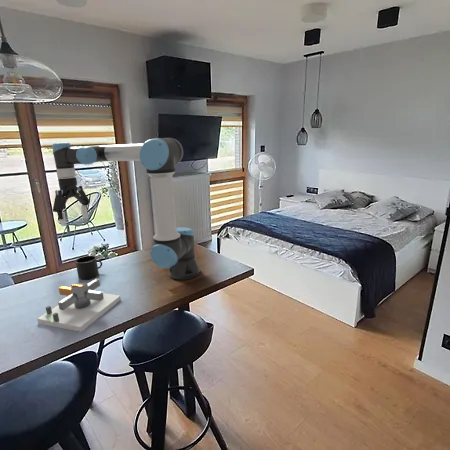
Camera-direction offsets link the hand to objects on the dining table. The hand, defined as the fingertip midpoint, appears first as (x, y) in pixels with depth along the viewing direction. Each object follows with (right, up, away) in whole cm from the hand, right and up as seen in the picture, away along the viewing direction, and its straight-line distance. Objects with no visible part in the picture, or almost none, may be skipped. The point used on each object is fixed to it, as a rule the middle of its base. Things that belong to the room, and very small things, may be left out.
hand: (75, 221), depth 151 cm
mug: (+5, -27, +7) cm, 28 cm away
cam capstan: (+15, -33, -25) cm, 44 cm away
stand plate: (+15, -36, -25) cm, 46 cm away
